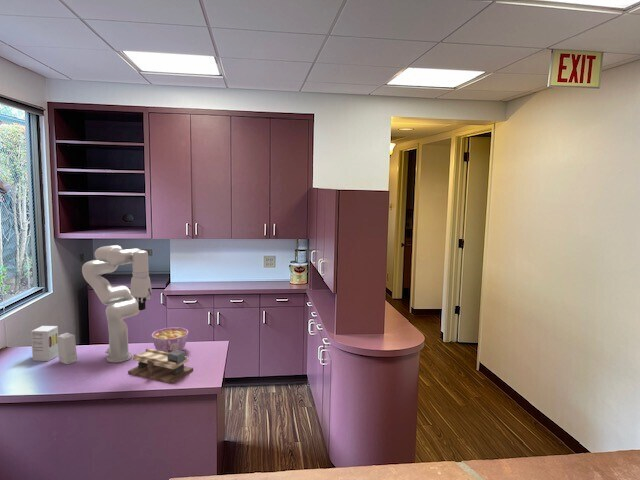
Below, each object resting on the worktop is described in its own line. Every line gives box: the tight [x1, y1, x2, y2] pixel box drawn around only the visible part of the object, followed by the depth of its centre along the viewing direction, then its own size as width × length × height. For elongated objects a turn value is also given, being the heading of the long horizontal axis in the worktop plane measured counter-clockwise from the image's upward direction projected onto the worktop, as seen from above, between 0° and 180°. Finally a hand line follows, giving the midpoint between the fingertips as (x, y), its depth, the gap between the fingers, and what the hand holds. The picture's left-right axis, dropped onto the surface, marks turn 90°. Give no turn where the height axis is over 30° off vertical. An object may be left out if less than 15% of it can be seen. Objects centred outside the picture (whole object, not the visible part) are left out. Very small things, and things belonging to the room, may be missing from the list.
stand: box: [127, 349, 194, 384], centre depth 221 cm, size 28×16×9 cm, turn 69°
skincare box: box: [57, 332, 78, 365], centre depth 231 cm, size 8×6×15 cm
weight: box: [167, 350, 186, 364], centre depth 217 cm, size 6×6×4 cm
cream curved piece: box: [132, 347, 189, 369], centre depth 221 cm, size 26×14×3 cm, turn 69°
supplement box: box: [30, 325, 59, 362], centre depth 236 cm, size 10×9×17 cm
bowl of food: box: [151, 326, 189, 352], centre depth 247 cm, size 20×20×12 cm
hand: (142, 309), depth 221 cm, fingers closed
